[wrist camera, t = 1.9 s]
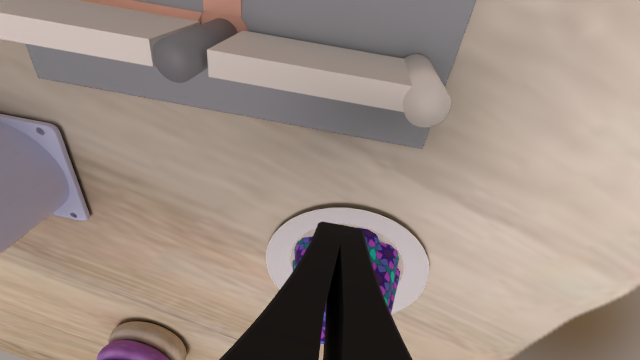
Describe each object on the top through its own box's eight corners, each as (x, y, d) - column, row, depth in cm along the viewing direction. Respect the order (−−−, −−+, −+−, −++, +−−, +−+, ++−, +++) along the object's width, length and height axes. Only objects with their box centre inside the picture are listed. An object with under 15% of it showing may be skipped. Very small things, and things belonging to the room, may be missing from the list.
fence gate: (243, 58, 16) (204, 87, 12) (243, 23, 15) (201, 43, 11) (425, 91, 16) (441, 131, 12) (436, 57, 15) (457, 88, 11)
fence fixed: (32, 18, 17) (-75, 36, 13) (19, -18, 16) (-100, -11, 12) (239, 55, 16) (196, 86, 12) (239, 21, 15) (193, 41, 11)
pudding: (248, 206, 23) (219, 263, 18) (427, 193, 20) (441, 257, 16) (289, 311, 29) (274, 372, 25) (429, 312, 26) (439, 380, 22)
